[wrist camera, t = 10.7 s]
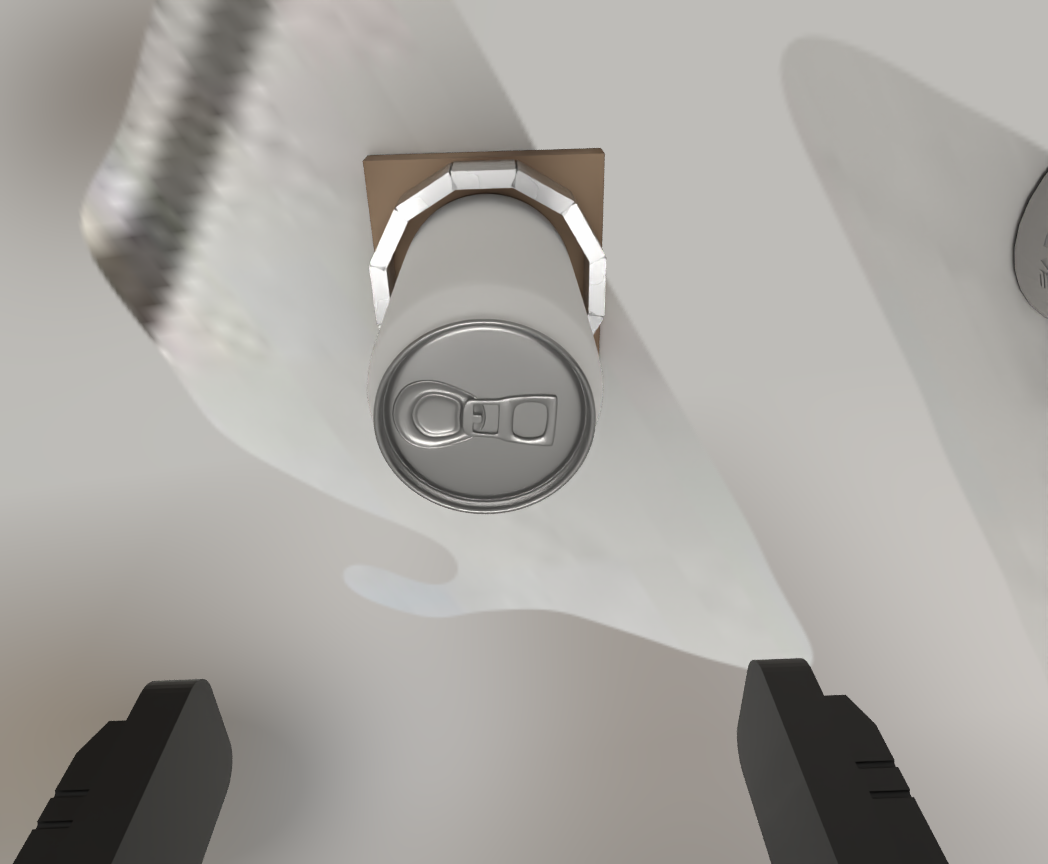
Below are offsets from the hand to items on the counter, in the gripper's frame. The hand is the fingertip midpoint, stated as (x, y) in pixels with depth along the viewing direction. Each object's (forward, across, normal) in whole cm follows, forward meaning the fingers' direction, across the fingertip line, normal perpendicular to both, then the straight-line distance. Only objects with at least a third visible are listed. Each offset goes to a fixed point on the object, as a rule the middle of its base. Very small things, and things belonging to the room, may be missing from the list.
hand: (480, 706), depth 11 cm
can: (+21, 0, 0) cm, 21 cm away
